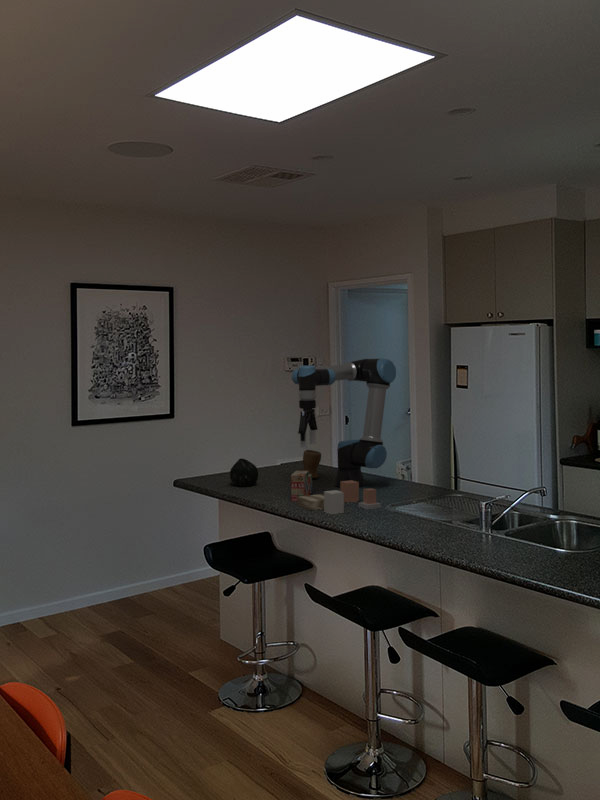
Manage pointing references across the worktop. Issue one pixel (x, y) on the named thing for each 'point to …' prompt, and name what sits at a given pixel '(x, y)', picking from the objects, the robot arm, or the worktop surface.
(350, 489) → the terracotta block
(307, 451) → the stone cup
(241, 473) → the squash
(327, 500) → the off-white block
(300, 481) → the stack of blocks
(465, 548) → the worktop surface
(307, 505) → the birch base block
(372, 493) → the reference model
